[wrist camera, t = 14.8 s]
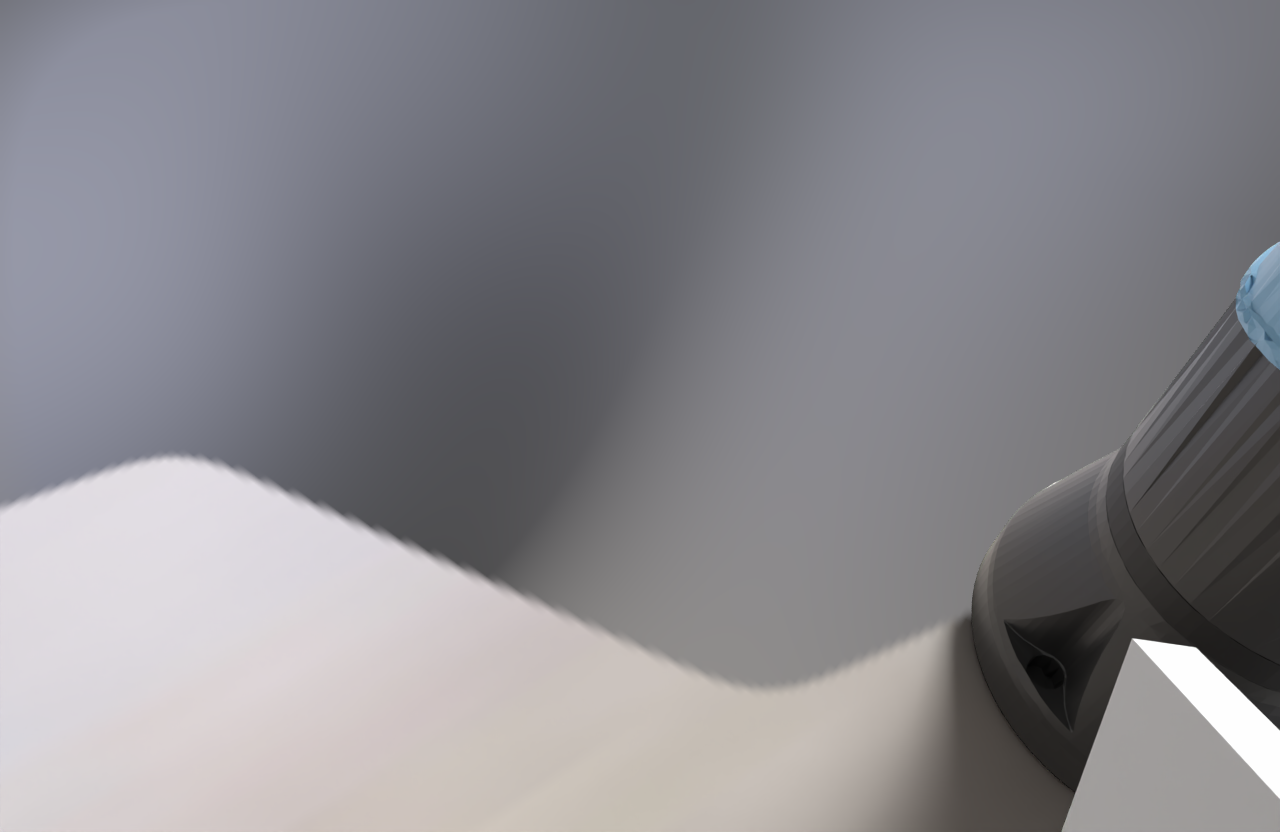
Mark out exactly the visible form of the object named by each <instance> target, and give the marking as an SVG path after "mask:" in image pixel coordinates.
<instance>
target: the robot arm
mask: <svg viewBox="0 0 1280 832" xmlns="http://www.w3.org/2000/svg"><path fill="white" fill-rule="evenodd" d="M972 628H973V636H974V642H975V647H976V651H977V655H978V659H979V662H980V665H981V668H982V671H983V674H984V676H985V679H986V681H987V684H988V686H989V688H990V690H991V692H992V694H993V696H994V698H995V701H996V702H997V704H998V706H999V707H1000V709H1001V711H1002V713H1003V714H1004V716H1005V717H1006V719H1007V720H1008V722H1009V724H1010V725H1011V727H1012V728H1013V729H1014V731H1015V732H1016V733H1017V735H1018V736H1019V737H1020V739H1021V740H1022V741H1023V742H1024V744H1025V745H1026V746H1027V747H1028V748H1029V749H1030V751H1031V752H1032V753H1033V754H1034V755H1035V756H1036V757H1037V758H1038V759H1039V760H1040V761H1041V763H1042V764H1043V765H1044V766H1045V767H1047V768H1048V769H1049V770H1050V771H1051V772H1052V773H1053V774H1054V775H1055V776H1056V777H1057V778H1059V779H1060V780H1061V781H1062V782H1063V783H1064V784H1066V785H1067V786H1068V787H1069V788H1071V789H1072V790H1073V791H1075V792H1076V793H1075V796H1074V799H1073V801H1072V804H1071V807H1070V809H1069V812H1068V815H1067V818H1066V820H1065V823H1064V826H1063V829H1062V831H1061V832H1280V242H1279V243H1277V244H1275V245H1274V246H1272V247H1271V248H1269V249H1268V250H1267V251H1265V252H1264V253H1263V254H1261V255H1260V257H1258V258H1257V259H1256V260H1255V261H1254V263H1253V264H1252V265H1251V266H1250V268H1249V269H1248V270H1247V272H1246V273H1245V275H1244V276H1243V278H1242V280H1241V287H1240V289H1239V291H1238V294H1237V296H1236V299H1235V300H1234V301H1233V303H1232V304H1231V305H1230V307H1229V308H1228V309H1227V310H1226V312H1225V313H1224V314H1223V316H1222V317H1221V319H1220V320H1219V321H1218V322H1217V324H1216V325H1215V326H1214V328H1213V329H1212V330H1211V332H1210V333H1209V334H1208V336H1207V337H1206V338H1205V339H1204V341H1203V342H1202V344H1201V345H1200V346H1199V347H1198V349H1197V350H1196V351H1195V353H1194V354H1193V355H1192V357H1191V358H1190V359H1189V361H1188V362H1187V363H1186V365H1185V366H1184V367H1183V369H1182V370H1181V371H1180V372H1179V374H1178V375H1177V376H1176V378H1175V379H1174V380H1173V381H1172V383H1171V384H1170V385H1169V387H1168V388H1167V389H1166V390H1165V392H1164V393H1163V394H1162V396H1161V397H1160V398H1159V399H1158V401H1157V402H1156V403H1155V404H1154V406H1153V407H1152V408H1151V409H1150V411H1149V412H1148V413H1147V414H1146V416H1145V417H1144V418H1143V420H1142V421H1141V422H1140V423H1139V425H1138V426H1137V428H1136V429H1135V431H1134V432H1133V433H1132V435H1131V436H1130V437H1129V438H1128V440H1127V441H1126V442H1125V444H1124V445H1123V446H1122V447H1121V448H1120V449H1118V450H1116V451H1114V452H1112V453H1110V454H1108V455H1107V456H1105V457H1103V458H1101V459H1099V460H1097V461H1095V462H1093V463H1091V464H1089V465H1088V466H1086V467H1084V468H1082V469H1080V470H1078V471H1076V472H1075V473H1073V474H1071V475H1069V476H1068V477H1065V478H1063V479H1062V480H1060V481H1058V482H1056V483H1053V484H1052V485H1050V486H1048V487H1046V488H1045V489H1043V490H1041V491H1040V492H1038V493H1037V494H1035V495H1034V496H1033V497H1031V498H1030V499H1029V500H1028V501H1027V502H1026V503H1025V504H1023V505H1022V506H1021V507H1020V508H1019V509H1018V510H1017V511H1016V512H1015V514H1014V515H1013V516H1012V517H1011V518H1010V520H1009V521H1008V522H1007V524H1006V525H1005V526H1004V528H1003V529H1002V531H1001V532H1000V534H999V535H998V537H997V538H996V539H995V541H994V542H993V544H992V545H991V547H990V548H989V550H988V552H987V553H986V555H985V557H984V559H983V561H982V563H981V565H980V568H979V571H978V574H977V578H976V581H975V585H974V591H973V597H972Z"/></svg>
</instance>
